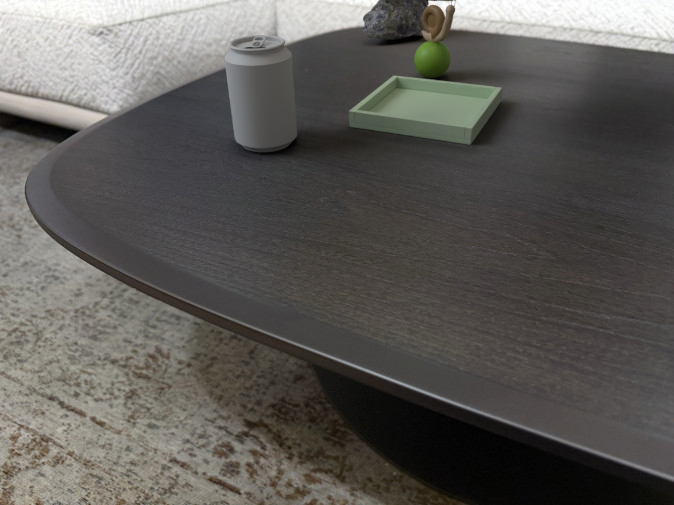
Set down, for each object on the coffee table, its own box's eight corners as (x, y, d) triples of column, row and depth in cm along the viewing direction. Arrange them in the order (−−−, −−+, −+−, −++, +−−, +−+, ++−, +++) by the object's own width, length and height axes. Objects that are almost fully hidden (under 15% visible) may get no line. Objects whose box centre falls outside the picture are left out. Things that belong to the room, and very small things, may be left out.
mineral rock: (363, 46, 108) (363, -14, 103) (360, 32, 117) (359, -24, 112) (435, 43, 108) (438, -17, 103) (426, 29, 117) (429, -27, 112)
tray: (500, 102, 82) (502, 87, 81) (470, 145, 70) (472, 128, 69) (393, 89, 88) (393, 75, 87) (349, 126, 76) (348, 110, 75)
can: (228, 154, 70) (213, 49, 63) (244, 129, 76) (233, 31, 70) (291, 156, 69) (282, 49, 62) (303, 131, 75) (296, 32, 69)
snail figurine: (435, 86, 88) (440, -1, 82) (406, 76, 93) (409, -7, 86) (461, 79, 91) (468, -6, 84) (431, 69, 95) (436, -12, 89)
